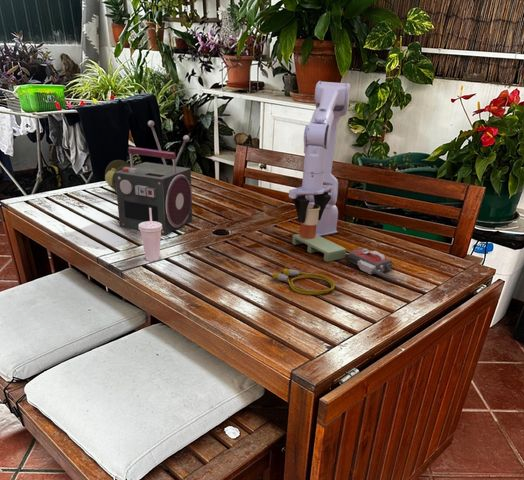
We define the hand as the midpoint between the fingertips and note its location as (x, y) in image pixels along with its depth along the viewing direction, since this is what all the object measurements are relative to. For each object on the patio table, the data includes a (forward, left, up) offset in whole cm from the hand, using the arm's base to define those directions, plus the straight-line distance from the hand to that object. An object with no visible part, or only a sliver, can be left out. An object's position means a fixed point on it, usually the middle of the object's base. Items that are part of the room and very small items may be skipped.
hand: (309, 220), depth 146 cm
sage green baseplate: (-6, -1, -10) cm, 12 cm away
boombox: (+27, -46, -10) cm, 54 cm away
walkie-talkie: (-10, +18, -10) cm, 23 cm away
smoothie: (+41, -18, -10) cm, 46 cm away
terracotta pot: (-6, -7, -8) cm, 12 cm away
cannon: (+18, -84, -10) cm, 86 cm away
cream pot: (0, 0, 0) cm, 1 cm away
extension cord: (+13, +16, -10) cm, 23 cm away
